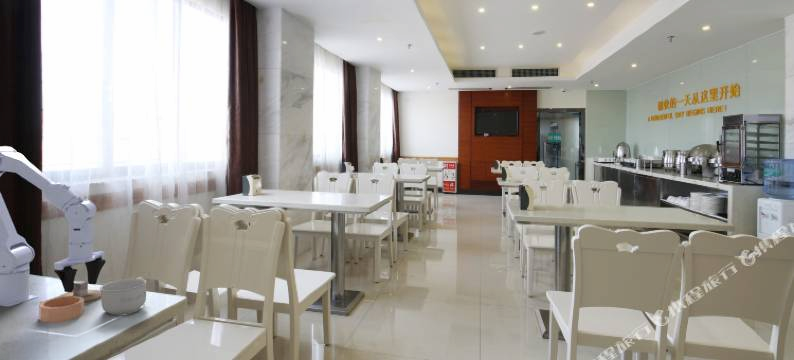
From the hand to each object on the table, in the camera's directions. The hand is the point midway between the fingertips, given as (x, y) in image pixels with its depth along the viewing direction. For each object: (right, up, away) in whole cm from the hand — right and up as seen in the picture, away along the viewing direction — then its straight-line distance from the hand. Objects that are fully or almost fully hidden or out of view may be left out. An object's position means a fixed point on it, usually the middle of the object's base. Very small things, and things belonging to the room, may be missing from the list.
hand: (80, 287), depth 123 cm
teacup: (+17, -5, -5) cm, 19 cm away
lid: (0, -3, 0) cm, 3 cm away
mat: (0, -3, 0) cm, 3 cm away
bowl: (+5, -4, -13) cm, 14 cm away
